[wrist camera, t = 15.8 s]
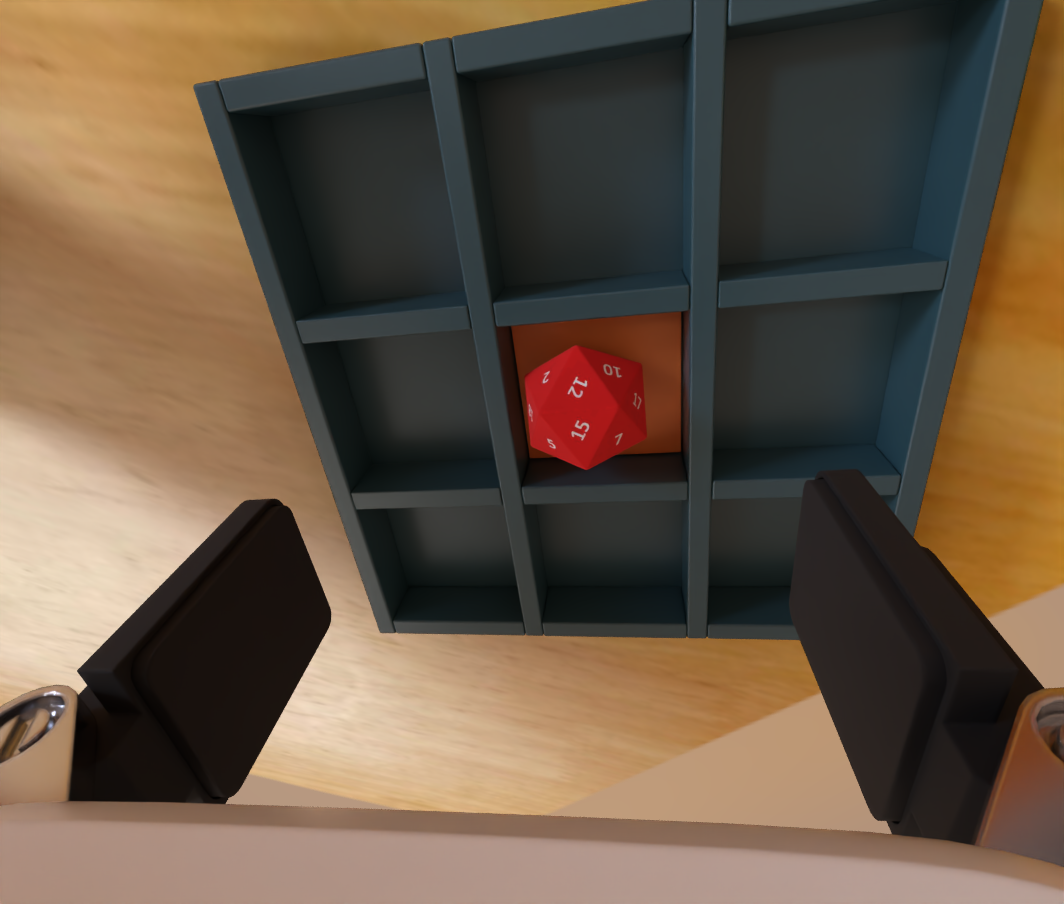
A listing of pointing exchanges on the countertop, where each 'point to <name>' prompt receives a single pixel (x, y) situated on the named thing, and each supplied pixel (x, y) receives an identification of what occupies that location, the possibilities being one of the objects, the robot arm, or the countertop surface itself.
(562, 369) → the die
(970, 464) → the countertop surface
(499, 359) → the grid
